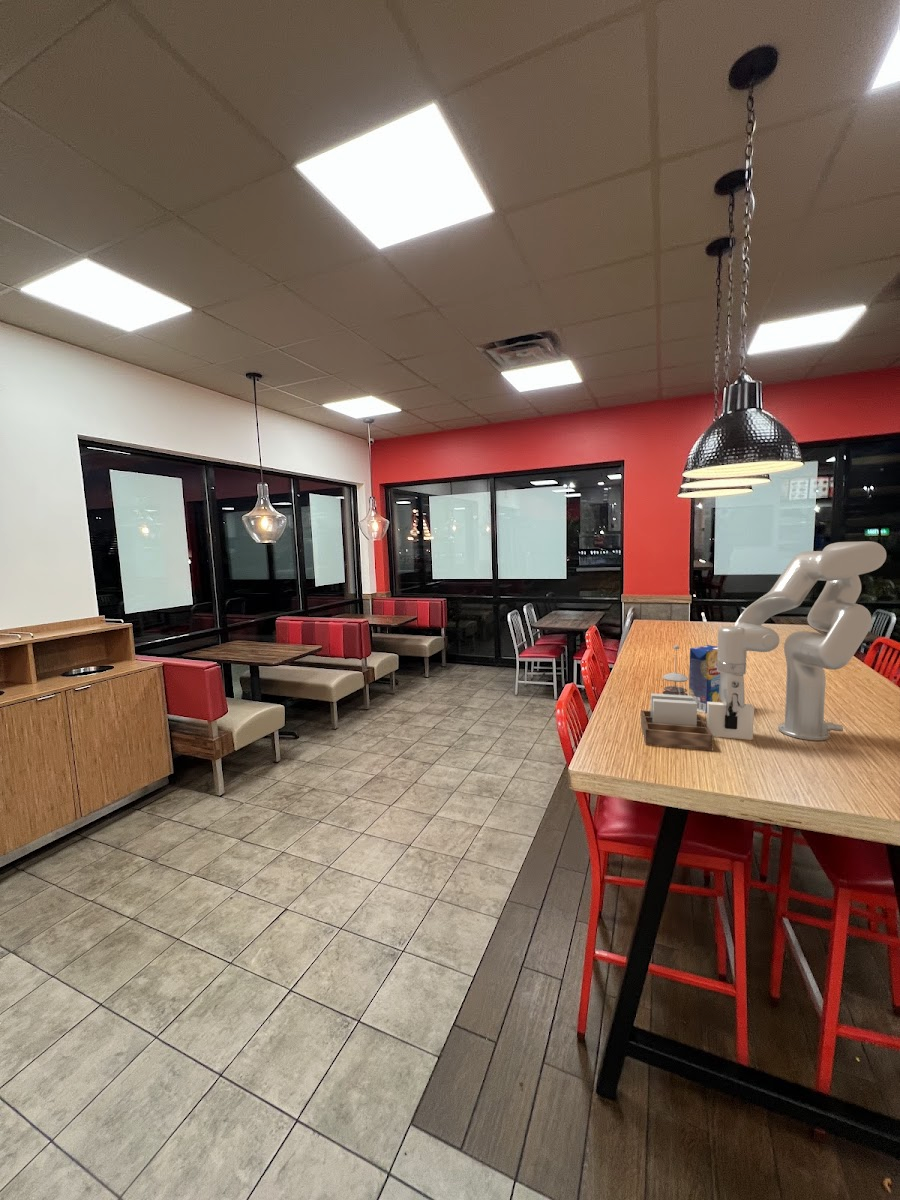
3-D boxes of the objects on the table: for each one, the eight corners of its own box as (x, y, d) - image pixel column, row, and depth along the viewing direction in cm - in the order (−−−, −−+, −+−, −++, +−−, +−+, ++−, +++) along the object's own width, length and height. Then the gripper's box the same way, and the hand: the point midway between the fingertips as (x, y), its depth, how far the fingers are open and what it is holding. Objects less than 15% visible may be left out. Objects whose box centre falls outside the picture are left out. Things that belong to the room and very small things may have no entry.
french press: (683, 712, 167) (685, 642, 165) (697, 723, 156) (699, 648, 154) (655, 711, 168) (656, 642, 166) (666, 723, 157) (668, 649, 155)
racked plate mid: (694, 733, 145) (695, 701, 145) (696, 736, 143) (697, 704, 142) (652, 729, 149) (652, 698, 148) (653, 732, 146) (653, 701, 145)
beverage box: (724, 708, 171) (726, 647, 169) (706, 713, 165) (708, 651, 163) (706, 703, 177) (708, 645, 175) (688, 708, 171) (689, 648, 169)
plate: (750, 736, 144) (751, 704, 144) (752, 739, 142) (754, 707, 141) (706, 732, 148) (707, 701, 147) (708, 736, 145) (708, 704, 145)
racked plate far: (691, 726, 151) (691, 695, 150) (692, 729, 148) (693, 698, 147) (650, 723, 155) (650, 693, 154) (651, 726, 152) (651, 695, 151)
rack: (699, 728, 152) (699, 714, 152) (712, 750, 135) (712, 735, 134) (640, 723, 157) (640, 710, 157) (645, 744, 140) (645, 729, 140)
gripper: (753, 674, 134) (751, 737, 136) (737, 662, 150) (735, 718, 151) (724, 673, 136) (721, 735, 138) (711, 660, 152) (709, 716, 154)
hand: (729, 725), depth 145 cm, fingers closed on plate, 2 cm apart
